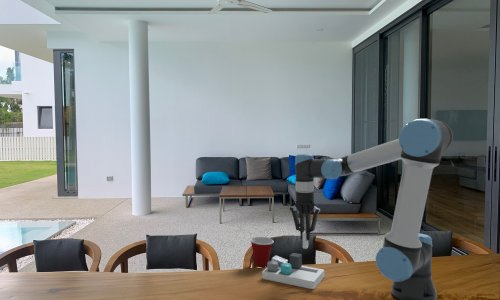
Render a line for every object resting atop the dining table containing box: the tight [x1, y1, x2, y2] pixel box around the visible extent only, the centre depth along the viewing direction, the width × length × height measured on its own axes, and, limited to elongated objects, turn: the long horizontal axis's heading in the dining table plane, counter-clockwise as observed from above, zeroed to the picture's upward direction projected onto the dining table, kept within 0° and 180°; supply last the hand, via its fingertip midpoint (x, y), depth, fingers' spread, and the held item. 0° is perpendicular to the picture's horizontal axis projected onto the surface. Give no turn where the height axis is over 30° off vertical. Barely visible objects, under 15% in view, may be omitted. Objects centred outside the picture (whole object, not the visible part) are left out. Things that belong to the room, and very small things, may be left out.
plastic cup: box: [249, 236, 274, 269], centre depth 162 cm, size 11×11×12 cm
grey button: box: [266, 260, 278, 272], centre depth 148 cm, size 4×4×3 cm
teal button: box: [281, 263, 291, 275], centre depth 145 cm, size 4×4×3 cm
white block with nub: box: [270, 255, 289, 265], centre depth 154 cm, size 6×4×1 cm, turn 61°
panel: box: [261, 262, 326, 290], centre depth 147 cm, size 22×14×4 cm, turn 61°
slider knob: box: [289, 252, 303, 269], centre depth 150 cm, size 4×4×5 cm
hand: (305, 247), depth 148 cm, fingers closed
